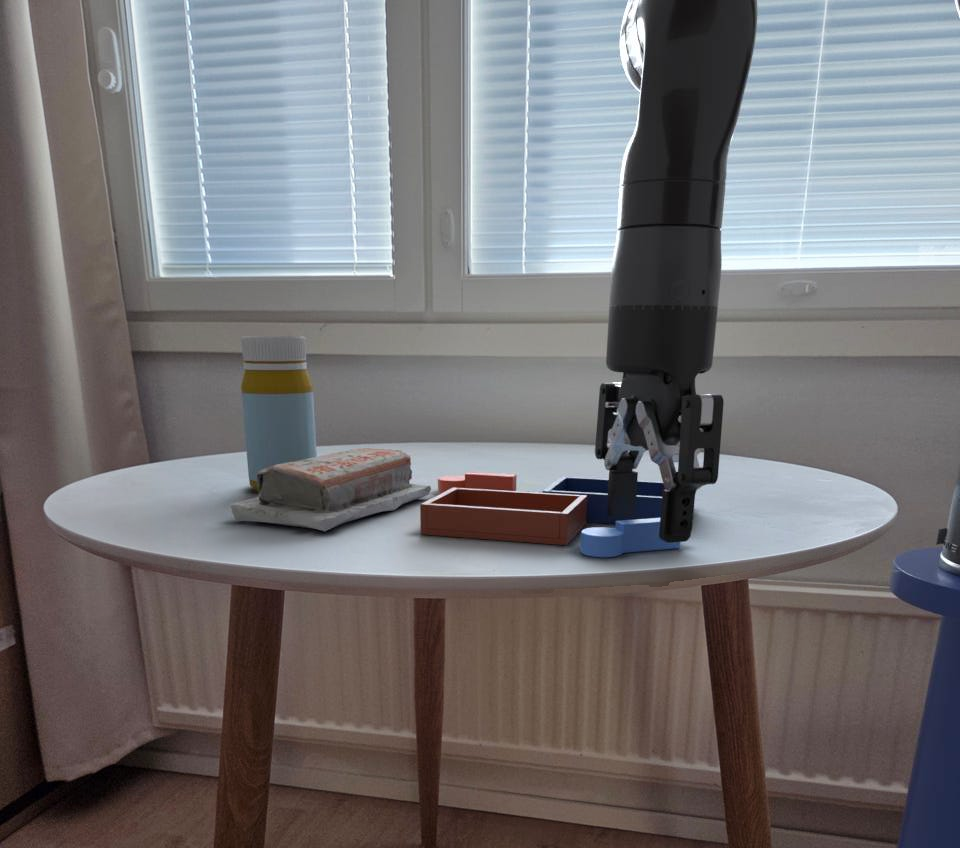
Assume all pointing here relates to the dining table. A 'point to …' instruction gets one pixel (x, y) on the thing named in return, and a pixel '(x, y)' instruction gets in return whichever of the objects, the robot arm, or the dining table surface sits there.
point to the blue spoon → (624, 538)
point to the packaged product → (331, 489)
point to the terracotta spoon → (478, 481)
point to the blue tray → (598, 495)
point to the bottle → (276, 402)
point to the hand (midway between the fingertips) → (645, 528)
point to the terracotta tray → (504, 515)
